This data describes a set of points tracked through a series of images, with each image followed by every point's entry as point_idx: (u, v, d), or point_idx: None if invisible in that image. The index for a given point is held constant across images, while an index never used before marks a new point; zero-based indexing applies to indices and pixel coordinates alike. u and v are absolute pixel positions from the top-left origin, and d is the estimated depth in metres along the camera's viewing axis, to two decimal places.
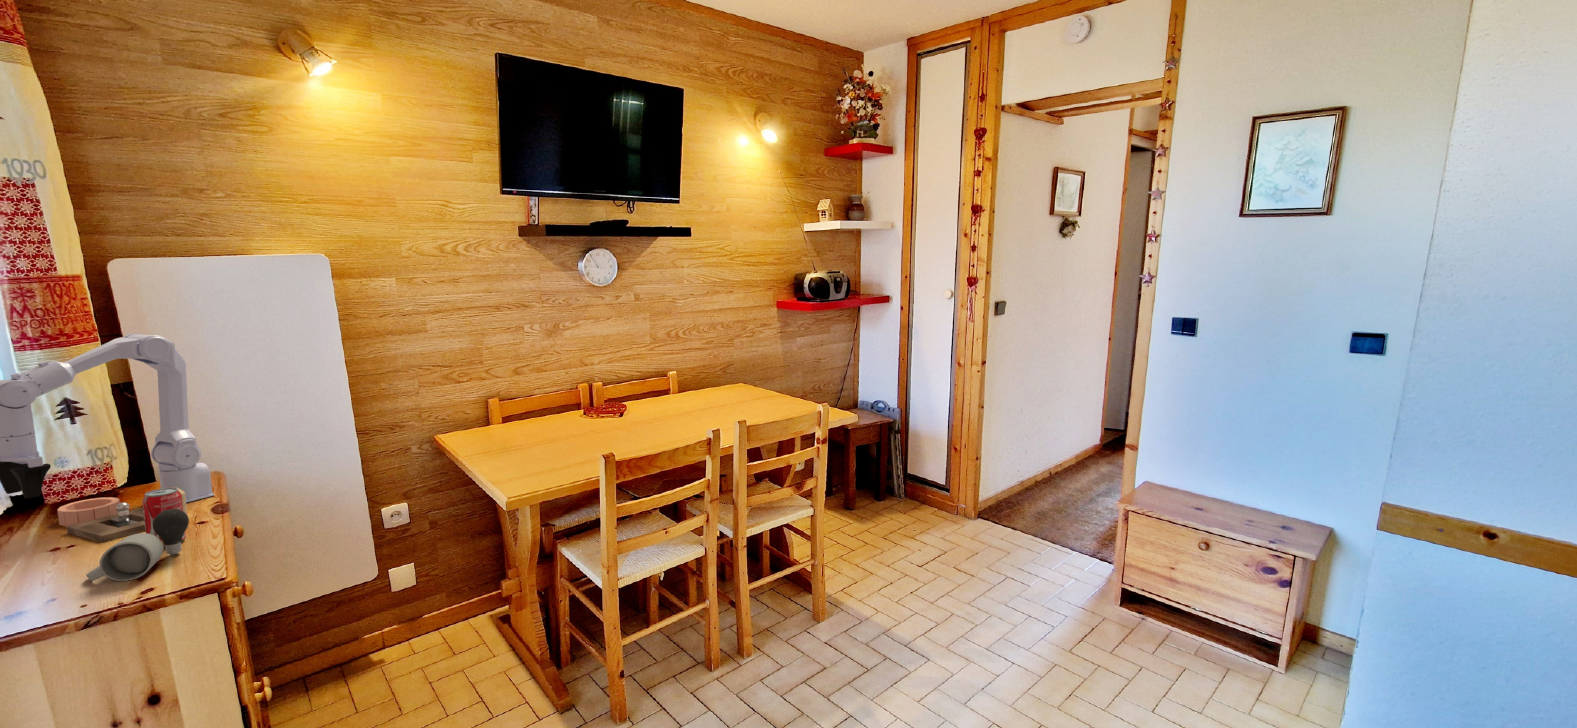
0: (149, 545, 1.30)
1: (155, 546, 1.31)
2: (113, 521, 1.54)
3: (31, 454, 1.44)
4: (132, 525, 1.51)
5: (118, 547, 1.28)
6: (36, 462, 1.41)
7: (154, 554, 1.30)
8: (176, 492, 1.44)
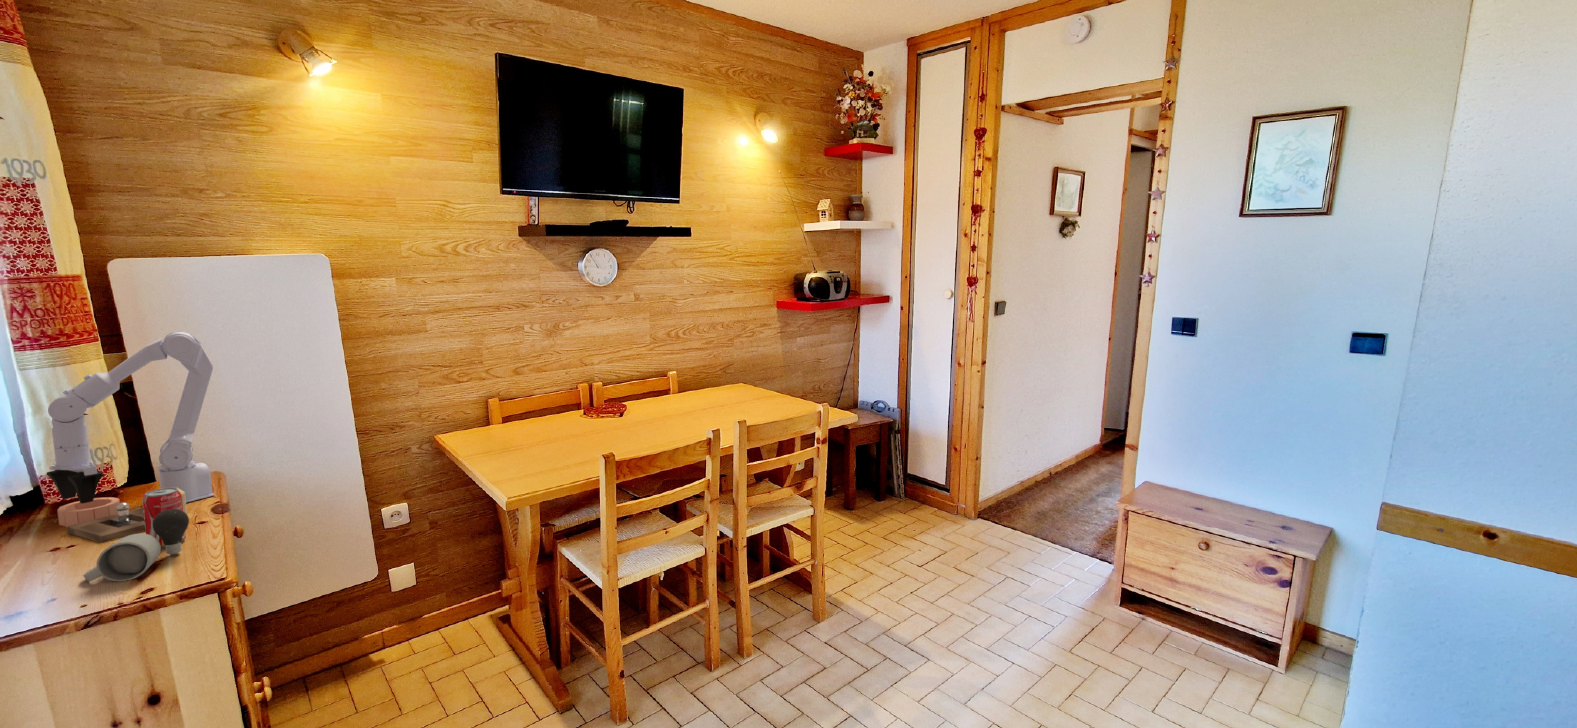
0: (146, 545, 1.29)
1: (152, 546, 1.31)
2: (113, 521, 1.54)
3: (86, 463, 1.58)
4: (132, 525, 1.51)
5: (115, 547, 1.27)
6: (91, 470, 1.56)
7: (152, 554, 1.30)
8: (176, 492, 1.44)
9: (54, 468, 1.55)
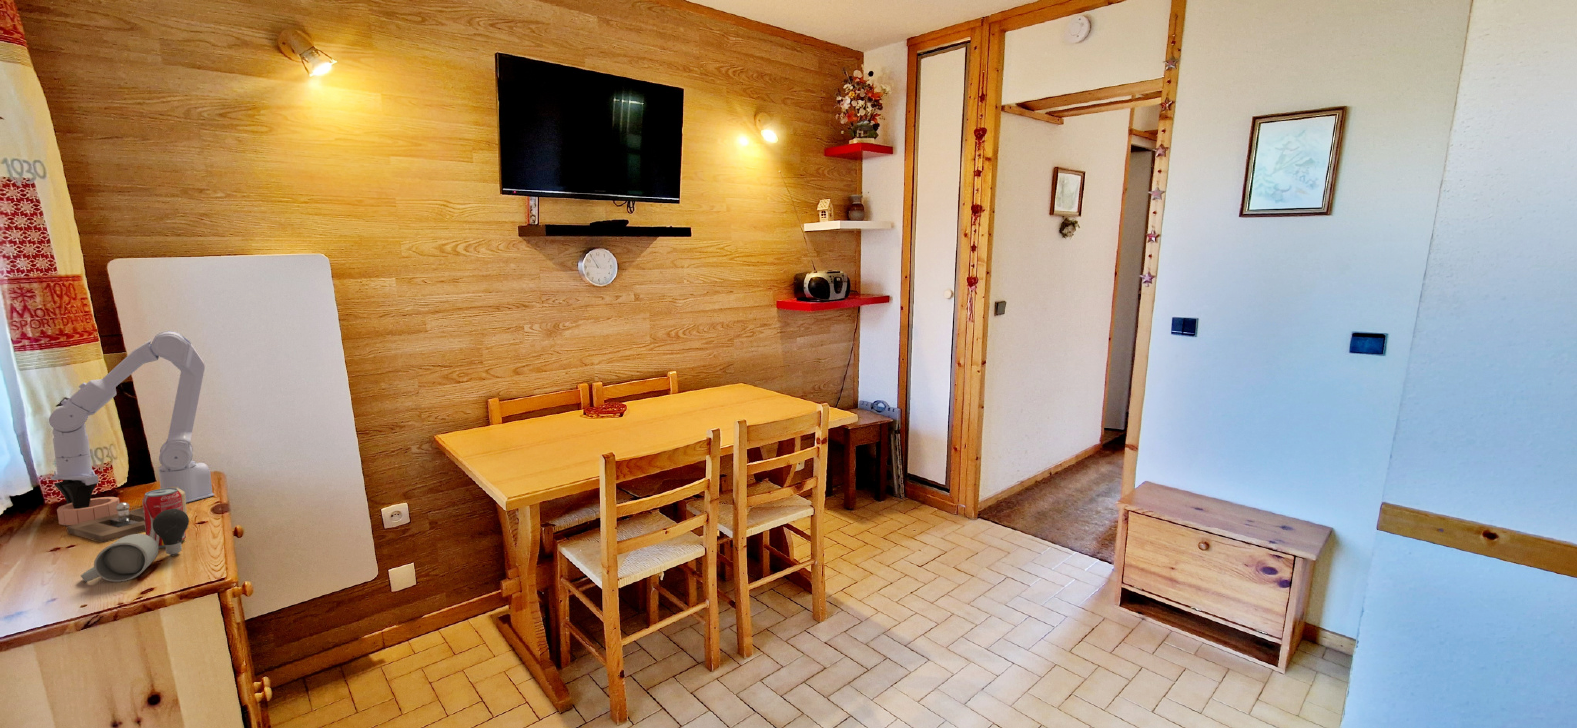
0: (144, 546, 1.29)
1: (150, 546, 1.31)
2: (113, 521, 1.54)
3: (87, 472, 1.59)
4: (132, 525, 1.51)
5: (113, 548, 1.27)
6: (92, 480, 1.56)
7: (149, 554, 1.30)
8: (176, 492, 1.44)
9: (55, 478, 1.55)
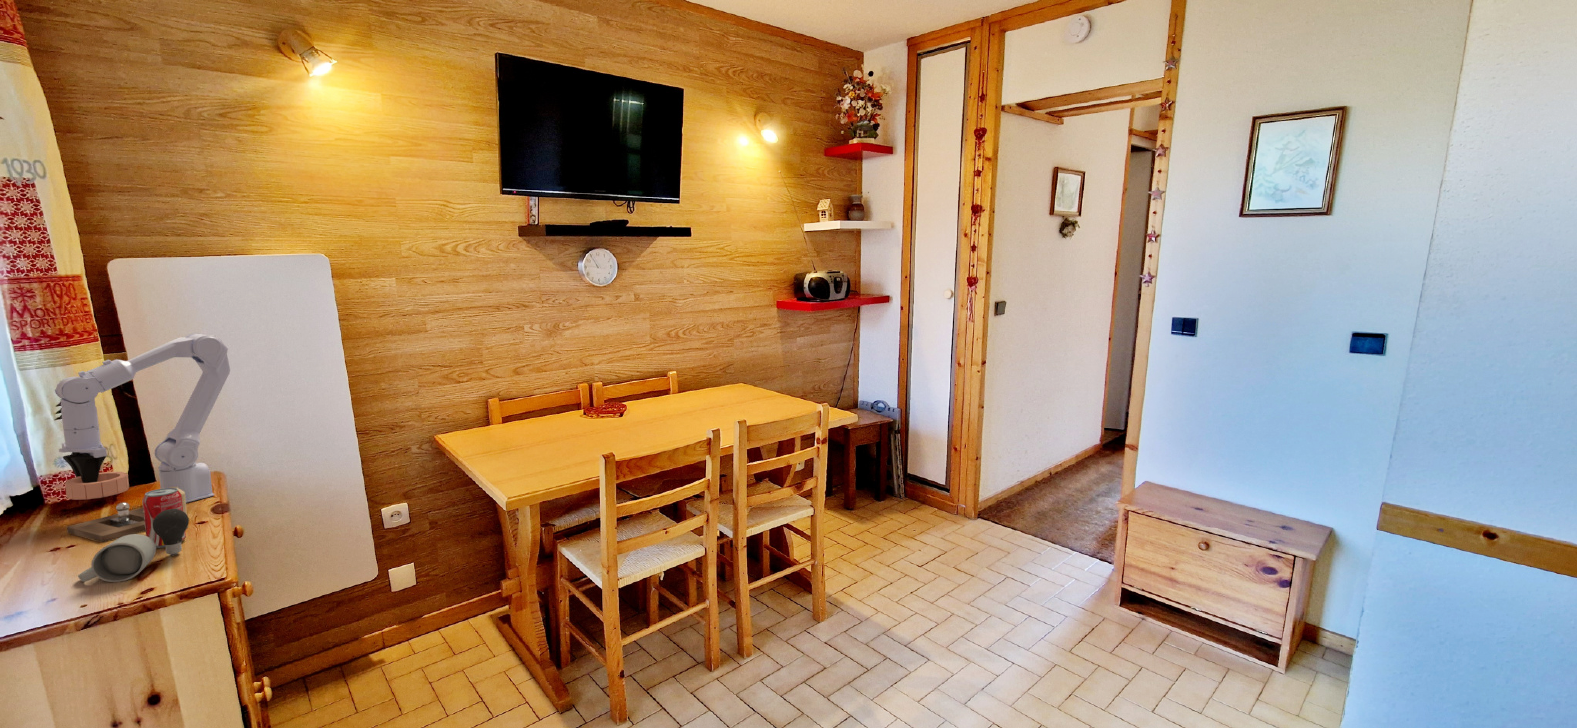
0: (141, 546, 1.29)
1: (147, 547, 1.31)
2: (113, 521, 1.54)
3: (95, 445, 1.56)
4: (132, 525, 1.51)
5: (110, 548, 1.27)
6: (100, 453, 1.53)
7: (147, 555, 1.30)
8: (176, 492, 1.44)
9: (64, 450, 1.52)
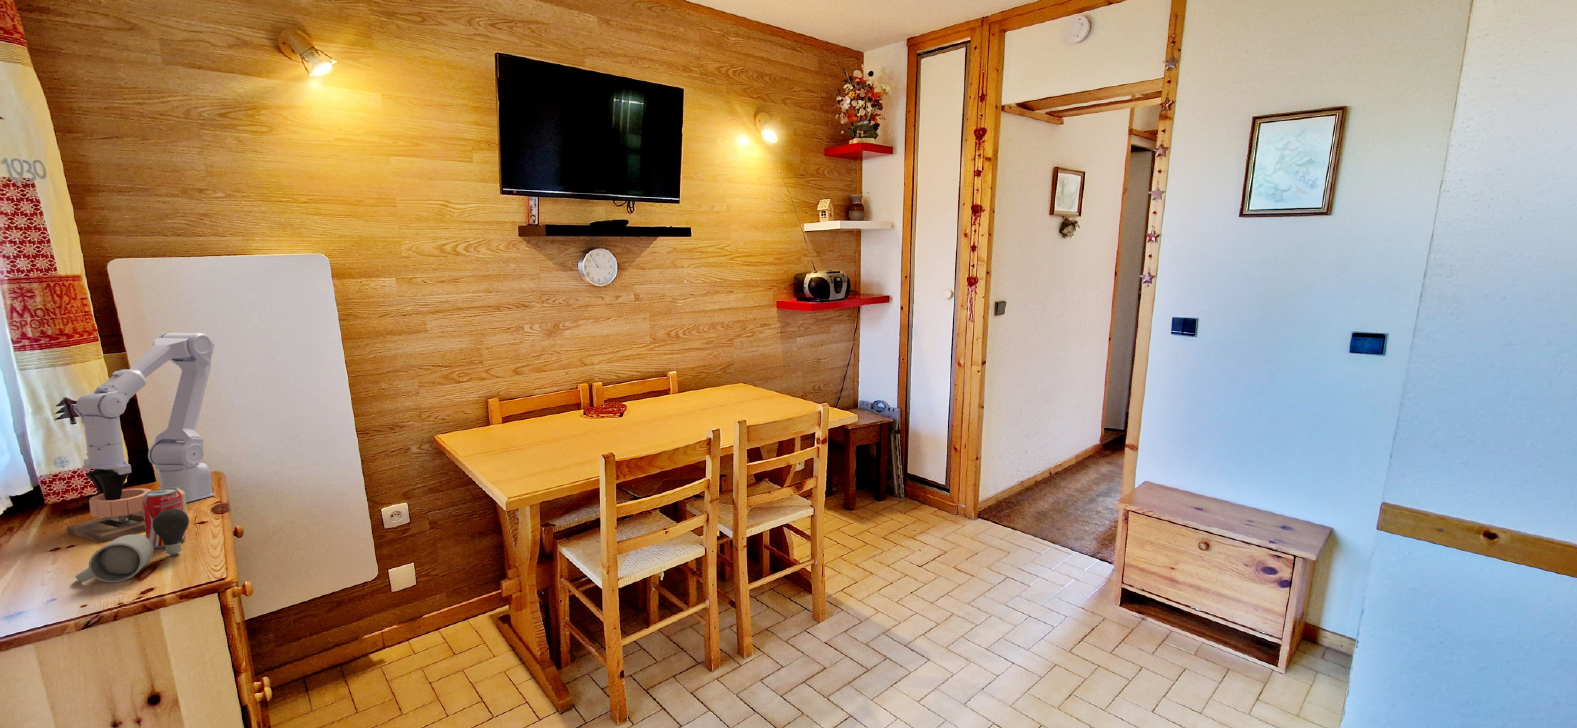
0: (139, 546, 1.29)
1: (145, 547, 1.31)
2: (113, 521, 1.54)
3: (119, 462, 1.53)
4: (132, 525, 1.51)
5: (108, 548, 1.27)
6: (125, 469, 1.51)
7: (144, 555, 1.30)
8: (176, 492, 1.44)
9: (87, 467, 1.50)
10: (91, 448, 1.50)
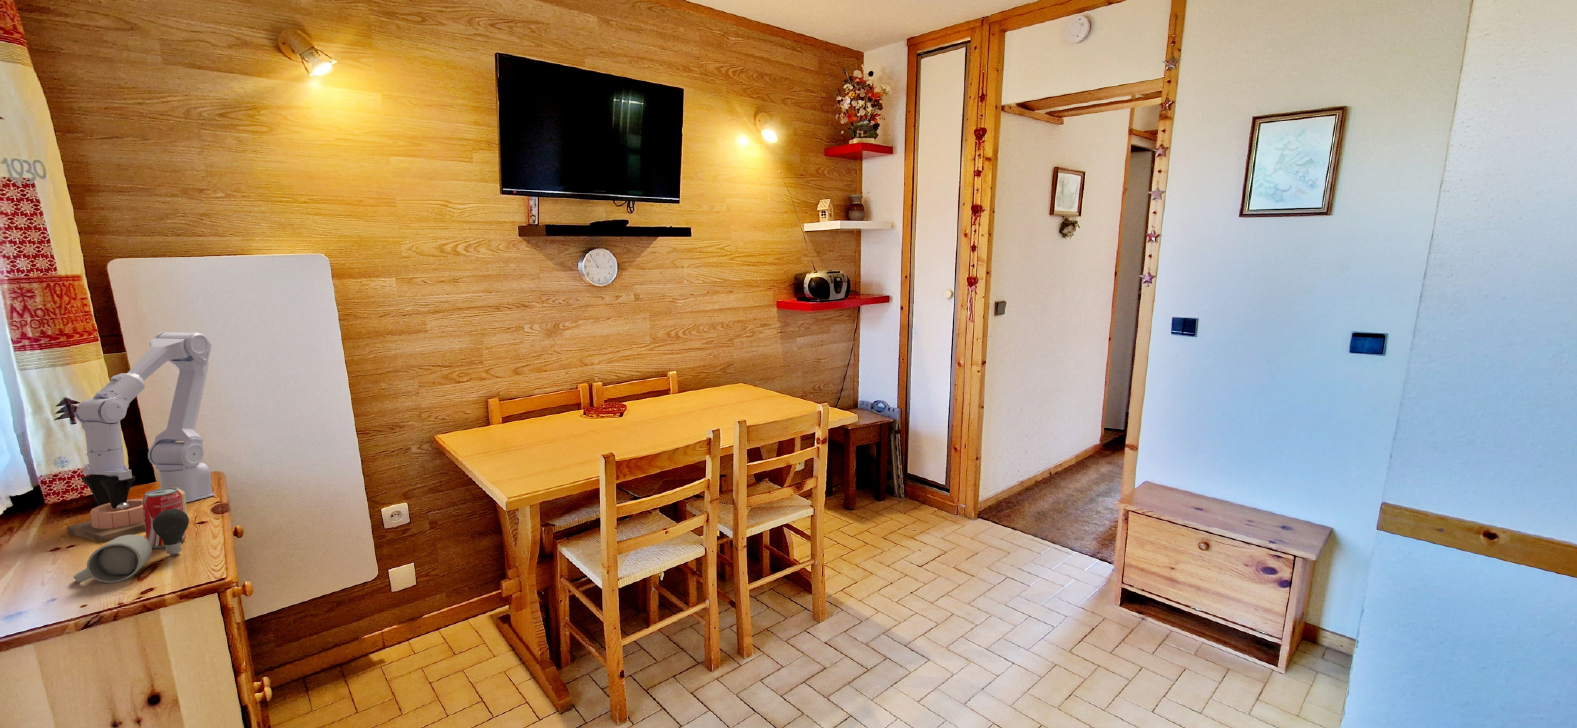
0: (137, 546, 1.29)
1: (143, 547, 1.31)
2: None
3: (120, 467, 1.54)
4: (132, 525, 1.51)
5: (106, 549, 1.27)
6: (126, 475, 1.51)
7: (142, 555, 1.29)
8: (176, 492, 1.44)
9: (88, 473, 1.50)
10: (92, 454, 1.50)
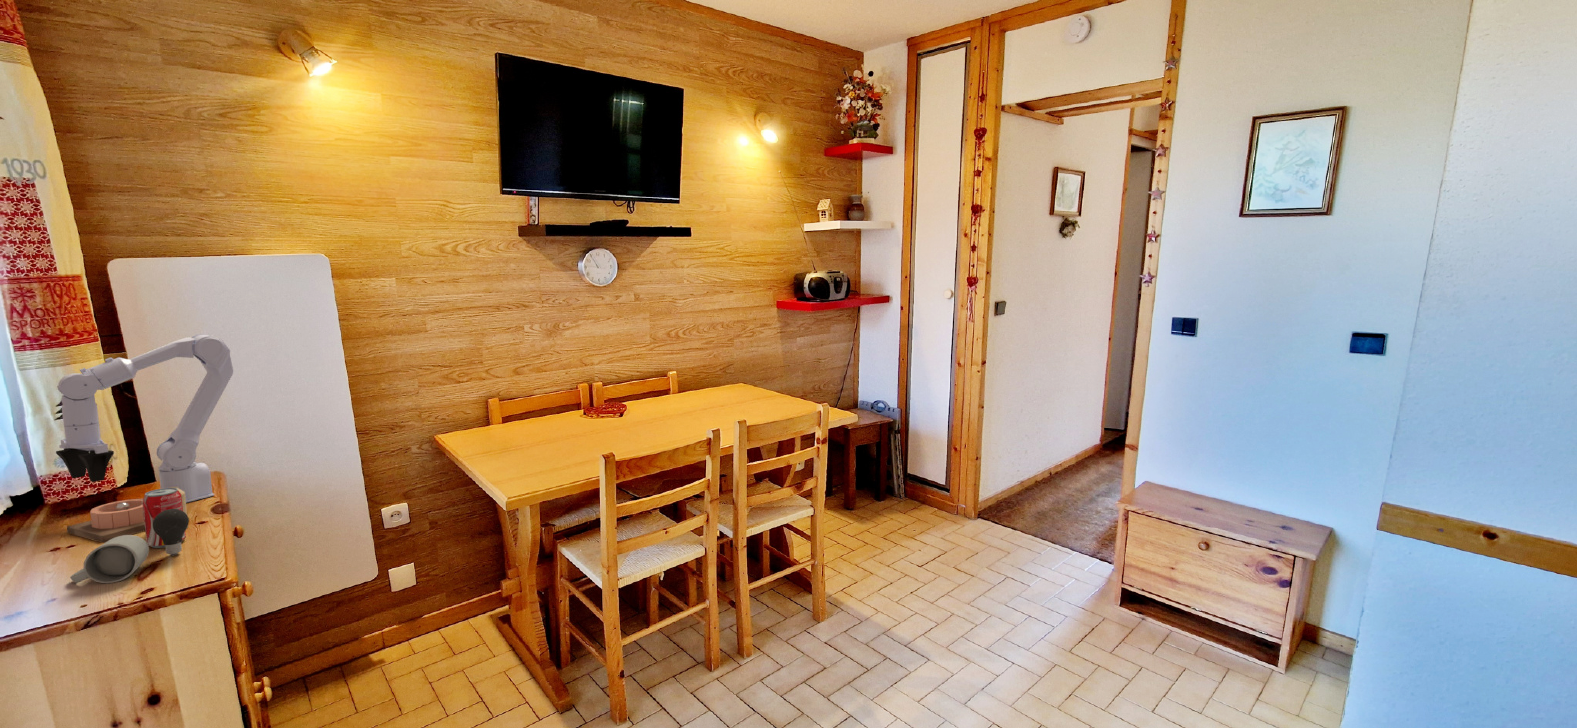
0: (134, 547, 1.29)
1: (140, 547, 1.30)
2: None
3: (96, 442, 1.57)
4: (132, 525, 1.51)
5: (102, 549, 1.27)
6: (102, 449, 1.55)
7: (139, 556, 1.29)
8: (176, 492, 1.44)
9: (64, 446, 1.53)
10: (68, 428, 1.54)
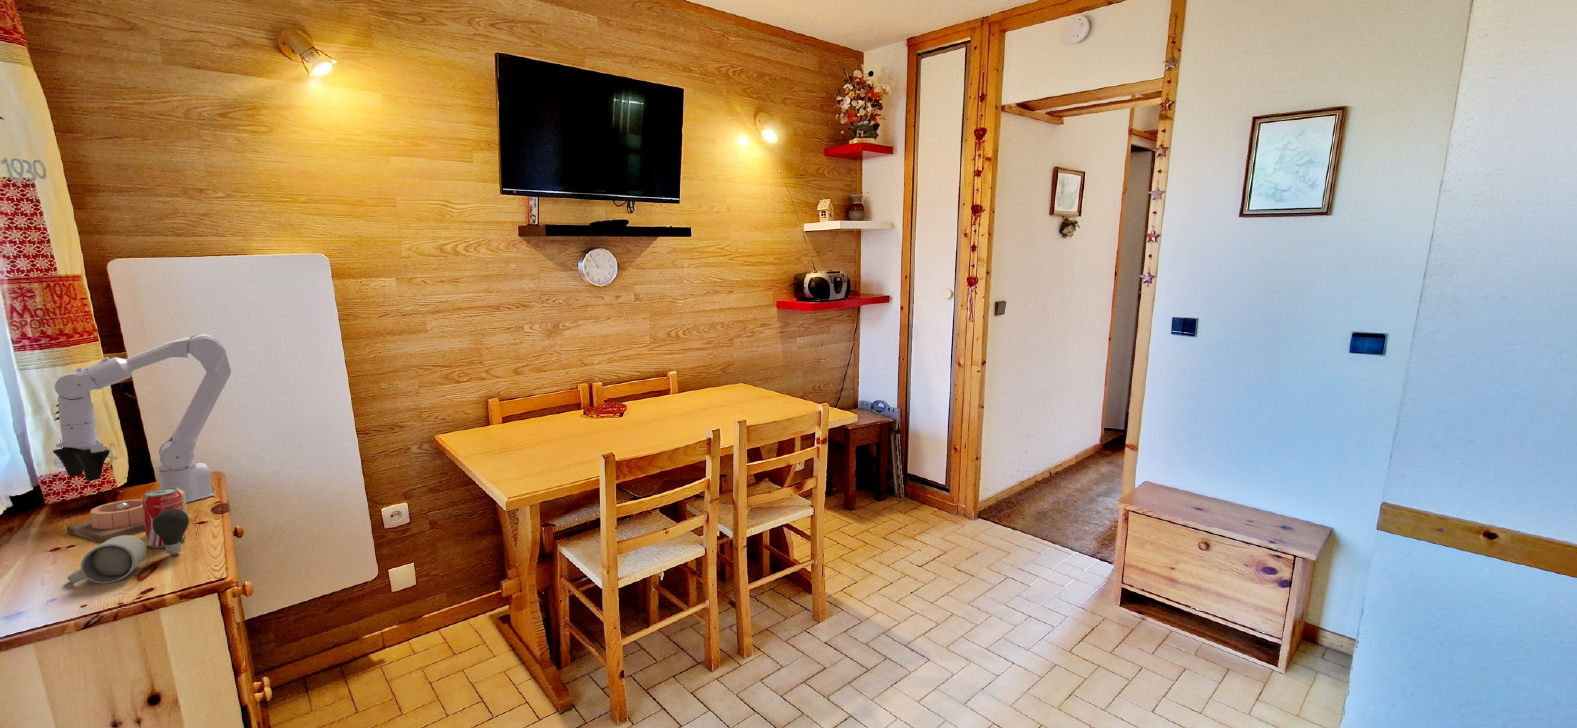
0: (131, 547, 1.29)
1: (137, 548, 1.30)
2: None
3: (92, 441, 1.58)
4: (132, 525, 1.51)
5: (100, 549, 1.26)
6: (97, 448, 1.56)
7: (137, 556, 1.29)
8: (176, 492, 1.44)
9: (61, 445, 1.54)
10: (64, 427, 1.55)
